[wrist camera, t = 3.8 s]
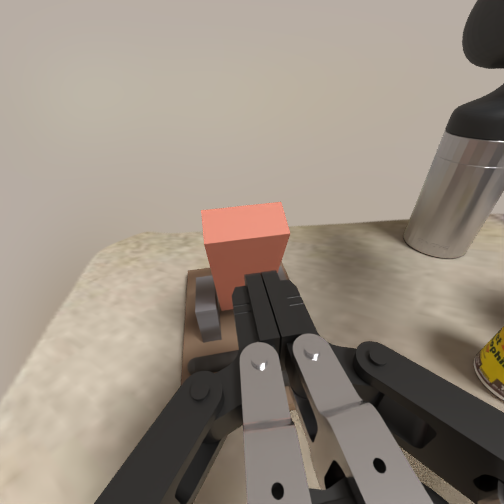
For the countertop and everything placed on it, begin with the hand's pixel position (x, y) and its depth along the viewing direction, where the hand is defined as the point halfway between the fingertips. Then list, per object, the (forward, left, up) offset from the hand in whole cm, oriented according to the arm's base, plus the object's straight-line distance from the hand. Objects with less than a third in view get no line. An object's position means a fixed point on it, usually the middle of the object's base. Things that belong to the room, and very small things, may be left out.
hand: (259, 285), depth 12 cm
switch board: (-7, -8, -17) cm, 20 cm away
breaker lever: (-7, -8, -12) cm, 16 cm away
